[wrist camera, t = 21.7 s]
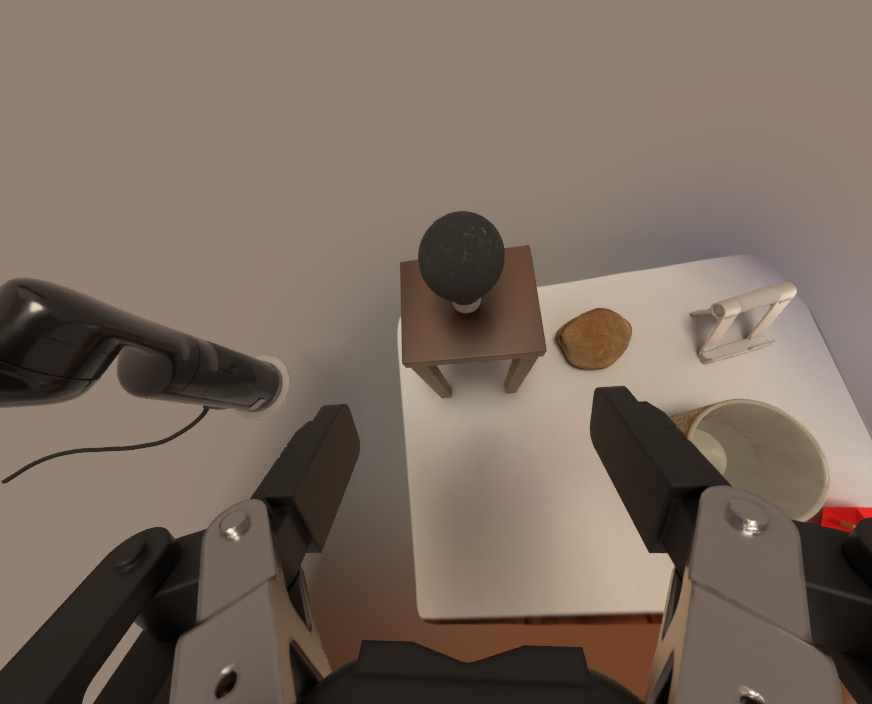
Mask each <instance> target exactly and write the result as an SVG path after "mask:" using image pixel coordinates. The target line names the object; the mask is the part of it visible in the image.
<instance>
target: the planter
mask: <svg viewBox="0 0 872 704" xmlns="http://www.w3.org/2000/svg"><path fill="white" fill-rule="evenodd" d="M670 419H671V420H672V421H673V422H674V423H675V425H676V427H677V428H679V429H680V430H681V431H682V432H683V433H684V434H685V435H686V436H687V440H690V441H691V442H692V443H693V444H694V445H695V446H696V447H697V448H698V450H699V451H700V452H701V453H702V454H703V455H704V456H705V457H706V458H707V459H708V460H709V461H710V463H711V464H712V465H713V466H714V467H715V468H716V469H717V470H718V471H719V472H720V473H721V475H722V476H723V477H724V478H725V479H726V480H727V481H728V482H729V483H730V484H731V485H732V486H733V487H736V488H740V489H743V490H747V491H749V492H752V493H754V494H756V495H758V496H760V497H762V498H764V499H766V500H768V501H769V502H771V503H772V504H774V505H775V506H777V507H778V508H779V509H781V510H782V511H783V512H784V513H785V514H786V515H787V516H788V517H789V518H790V519H793V520H797V521H801V522H805V521H807V520H809V519H810V518H811V517H813V516H814V515H815V514H816V513H817V512H818V511H819V510H820V509H821V507H822V506H823V504H824V503H825V501H826V498H827V496H828V492H829V487H830V472H829V467H828V463H827V460H826V457H825V455H824V452H823V450H822V449H821V447H820V445H819V443H818V442H817V440H816V439H815V438H814V436H813V435H812V434H811V433H810V432H809V431H808V429H807V428H806V427H805V426H803V425H802V424H801V423H800V422H799V421H798V420H796V419H795V418H794V417H792V416H791V415H789V414H788V413H786V412H784V411H783V410H781V409H779V408H777V407H774V406H772V405H769V404H766V403H763V402H759V401H755V400H748V399H733V400H726V401H722V402H719V403H715V404H712V405H708V406H705V407H702V408H698V409H695V410H691V411H688V412H685V413H681V414H678V415H675V416H672V417H670Z"/></svg>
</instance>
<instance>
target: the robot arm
mask: <svg viewBox="0 0 872 704" xmlns="http://www.w3.org/2000/svg"><path fill="white" fill-rule="evenodd" d="M118 354H119V356H118V361H117V377H118V380H119V383H120V385H121V386H122V388H123V389H124V390H125V391H126V392H127V393H129V394H131V395H133V396H136V397H139V398H145V399H154V400H162V401H170V402H179V403H187V404H196V405H203V408H204V410H203V412H202V413H201V414H200V415H199V417H198V418H197V419H195V420H194V421H193V422H192V423H191V424H189V425H188V426H186V427H185V428H183V429H182V430H180V431H179V432H177V433H175V434H174V435H172V436H170V437H168V438H166V439H163V440H160V441H156V442H152V443H146V444H140V445H134V446H125V447H104V448H83V449H74V450H69V451H64V452H60V453H56V454H53V455H49V456H46V457H44V458H41V459H39V460H37V461H34V462H32V463H30V464H28V465H27V466H25V467H23V468H22V469H20V470H18V471H17V472H15V473H14V474H12V475H11V476H9V477H8V478H6V479H4V480H3V481H2V483H7V482H9V481H10V480H12V479H14V478H15V477H16V476H18V475H20V474H21V473H23V472H24V471H26V470H27V469H29V468H31V467H33V466H35V465H37V464H39V463H41V462H44V461H46V460H49V459H52V458H55V457H59V456H63V455H68V454H73V453H82V452H102V451H122V450H123V451H124V450H134V449H140V448H146V447H151V446H157V445H160V444H163V443H166V442H168V441H171V440H172V439H174V438H176V437H178V436H179V435H181V434H183V433H184V432H186V431H187V430H189V429H190V428H192V427H193V426H194V425H196V424H197V423H198V422H199V421H200V420H201V419H202V418H203V417H204V416H205V415H206V414H207V412H208V410H209V409H217V410H219V409H236V410H244V411H248V412H260V411H263V410H265V409H267V408H269V407H270V406H271V405H272V404H273V403H274V402H275V401H276V400H277V398H278V397H279V395H280V392H281V389H282V375H281V373H280V371H279V369H278V368H277V367H276V366H275V365H273V364H272V363H269V362H266V361H262V360H259V359H256V358H254V357H251V356H248V355H245V354H242V353H239V352H237V351H234V350H231V349H228V348H225V347H223V346H220V345H217V344H214V343H211V342H209V341H206V340H203V339H200V338H197V337H194V336H191V335H189V334H186V333H183V332H180V331H177V330H174V329H171V328H168V327H166V326H163V325H161V324H158V323H155V322H153V321H149V320H147V319H144V318H142V317H139V316H136V315H134V314H131V313H129V312H126V311H123V310H121V309H118V308H116V307H114V306H111V305H109V304H107V303H104V302H102V301H100V300H97V299H95V298H92V297H90V296H87V295H85V294H83V293H80V292H77V291H75V290H72V289H70V288H67V287H64V286H61V285H58V284H54V283H51V282H48V281H43V280H38V279H32V278H15V279H11V280H8V281H7V282H5V283H4V284H3V285H2V286H1V287H0V408H9V407H26V406H40V405H49V404H57V403H62V402H66V401H70V400H73V399H76V398H78V397H80V396H82V395H83V394H85V393H86V392H87V391H89V390H90V389H91V388H92V387H93V386H94V385H95V384H96V383H97V381H98V380H99V379H100V378H101V376H102V375H103V373H104V372H105V371H106V370H107V368H108V367H109V366H110V364H111V363H112V362H113V360H114V359H115V358H116V357H117V355H118ZM590 435H591V440H592V443H593V446H594V448H595V450H596V452H597V454H598V455H599V457H600V459H601V461H602V463H603V465H604V467H605V469H606V471H607V473H608V475H609V477H610V479H611V480H612V482H613V484H614V486H615V488H616V490H617V492H618V494H619V496H620V498H621V500H622V502H623V504H624V505H625V507H626V509H627V511H628V513H629V515H630V517H631V519H632V521H633V523H634V525H635V527H636V528H637V530H638V532H639V534H640V536H641V538H642V540H643V542H644V544H645V546H646V548H647V550H648V552H649V553H668V555H669V556H670V558H671V560H672V562H673V563H674V568H673V570H672V574H671V579H670V585H669V590H668V595H667V600H666V605H665V610H664V615H663V620H662V625H661V630H660V635H659V641H658V645H657V649H656V654H655V658H654V661H653V664H652V668H651V671H650V675H649V679H648V683H647V687H646V692H645V697H644V701H643V700H641V699H640V698H639V697H638V696H637V695H635V694H634V693H633V692H632V691H631V690H629V689H628V688H626V687H625V686H623V685H622V684H620V683H619V682H617V681H616V680H614V679H613V678H611V677H609V676H607V675H605V674H603V673H601V672H599V671H597V670H595V669H592V668H590V667H587V663H586V660H585V656H584V652H583V648H582V647H557V646H556V647H555V646H521V647H519V648H515V649H512V650H509V651H506V652H503V653H500V654H497V655H494V656H490V657H488V658H485V659H481V660H478V661H475V662H471V663H465V662H461V661H459V660H456V659H454V658H451V657H449V656H447V655H444V654H442V653H439V652H437V651H434V650H432V649H429V648H427V647H424V646H422V645H419V644H417V643H414V642H404V641H372V640H362V643H361V648H360V652H359V657H358V659H356V660H353V661H351V662H349V663H347V664H345V665H343V666H341V667H339V668H338V669H336V670H335V671H333V672H332V671H331V668H330V665H329V662H328V659H327V657H326V654H325V652H324V649H323V647H322V644H321V642H320V638H319V635H318V631H317V627H316V623H315V618H314V614H313V610H312V605H311V601H310V597H309V593H308V588H307V584H306V580H305V576H304V571H303V568H302V566H301V563H302V561H303V558H304V556H305V554H306V553H321V552H322V550H323V547H324V545H325V542H326V539H327V537H328V534H329V532H330V529H331V526H332V523H333V521H334V518H335V516H336V513H337V511H338V508H339V505H340V503H341V500H342V497H343V495H344V493H345V490H346V487H347V485H348V482H349V480H350V477H351V474H352V472H353V469H354V467H355V464H356V461H357V459H358V456H359V452H360V440H359V436H358V433H357V430H356V427H355V424H354V421H353V418H352V415H351V412H350V409H349V407H348V405H346V404H341V405H340V404H339V405H325V406H323V407H322V408H321V409H320V410H319V412H318V414H317V415H316V417H315V418H314V420H313V421H309V422H307V423H306V424H305V425H304V426H303V427H302V428H300V429H299V430H298V431H297V432H296V433H295V434H294V436H293V437H292V438H291V440H290V441H289V443H288V444H287V447H285V449H284V450H283V452H282V453H281V455H280V458H278V459H277V461H276V462H275V463H274V465H273V466H272V468H271V469H270V471H269V472H268V474H267V475H266V476H265V478H264V479H263V481H262V482H261V484H260V485H259V487H258V488H257V490H256V491H255V493H254V494H253V495H252V497H251V498H250V499H249V500H244V501H242V502H239V503H237V504H234V505H233V506H231V507H229V508H228V509H226V510H225V511H223V512H222V513H221V514H220V515H219V516H218V517H216V518H215V520H213V522H212V523H211V524H210V525H209V527H208V528H207V529H205V530H202V531H199V532H196V533H193V534H189V535H186V536H183V537H180V538H177V539H175V538H174V537H173V536H172V535H171V534H170V532H169V531H168V530H167V529H165V528H162V527H154V528H150V529H147V530H144V531H142V532H139V533H137V534H135V535H134V536H132V537H130V538H129V539H127V540H125V541H124V542H123V543H121V544H120V545H118V546H117V547H116V548H115V549H114V550H112V552H110V553H109V554H108V555H107V556H106V557H105V558H104V559H103V560H102V561H101V562H100V564H99V565H98V566H97V567H96V568H95V569H94V570H93V571H92V572H91V573H90V574H89V575H88V577H87V578H86V579H85V580H84V581H83V582H82V583H81V584H80V585H79V586H78V588H76V590H75V591H74V592H73V593H72V594H71V595H70V596H69V597H68V598H67V599H66V600H65V602H64V603H63V604H62V605H61V606H60V607H59V608H58V609H57V610H56V611H55V612H54V613H53V615H52V616H51V617H50V618H49V619H48V620H47V621H46V622H45V623H44V624H43V625H42V627H41V628H40V629H39V630H38V631H37V632H36V633H35V634H34V635H33V636H32V637H31V639H30V640H29V641H28V642H27V643H26V644H25V645H24V646H23V647H22V648H21V649H20V650H19V652H18V653H17V654H16V655H15V656H14V657H13V658H12V659H11V660H10V661H9V662H8V663H7V664H6V666H5V667H4V668H3V669H2V670H1V671H0V704H82V701H83V697H84V695H85V692H86V690H87V688H88V686H89V684H90V682H91V681H92V679H93V678H94V677H95V675H96V673H97V672H98V671H99V670H100V668H101V667H102V665H103V664H104V662H105V661H106V660H107V658H108V657H109V656H110V654H111V653H112V651H113V650H114V649H115V647H116V646H117V644H118V643H119V642H120V640H121V639H122V637H123V636H124V635H125V633H126V632H127V630H128V629H129V628H130V626H131V625H132V623H133V622H135V623H136V624H137V625H138V626H140V627H141V628H142V629H143V631H142V633H141V634H140V635H139V637H138V638H137V640H136V641H135V643H134V644H133V646H132V647H131V649H130V650H129V652H128V653H127V654H126V656H125V657H124V659H123V661H122V662H121V663H120V665H119V666H118V668H117V669H116V671H115V672H114V674H113V675H112V676H111V678H110V680H109V681H108V682H107V684H106V685H105V687H104V688H103V690H102V691H101V693H100V694H99V696H98V697H97V699H96V700H95V702H94V703H93V704H843V702H842V695H841V690H840V683H839V679H840V680H841V681H842V683H843V684H844V686H845V687H846V688H847V690H848V691H849V693H850V694H851V695H852V697H853V698H854V699H855V701H856V702H857V704H872V517H869V518H864V519H862V520H861V521H859V523H858V524H857V525H856V527H855V528H854V529H853V530H852V532H847V531H842V530H838V529H833V528H829V527H824V526H819V525H815V524H810V523H806V522H801V521H797V520H793V519H790V518H789V517H788V516H787V515H786V514H785V513H784V512H783V511H782V510H781V509H779V508H778V507H777V506H775V505H774V504H772V503H771V502H769V501H768V500H766V499H764V498H762V497H760V496H758V495H756V494H754V493H752V492H749V491H747V490H743V489H740V488H736V487H733V486H732V485H731V484H730V483H729V482H728V481H727V480H726V479H725V478H724V477H723V476H722V475H721V473H720V472H719V471H718V470H717V469H716V468H715V467H714V466H713V465H712V464H711V463H710V461H709V460H708V459H707V458H706V457H705V456H704V455H703V454H702V453H701V452H700V451H699V450H698V448H697V447H696V446H695V445H694V444H693V443H692V442H691V441H690V440H687V436H686V435H685V434H684V433H683V432H682V431H681V430H680V429H679V428H677V427H676V425H675V423H674V422H673V421H672V420H671V419H670V418H669V417H668V416H667V415H666V414H665V413H664V412H663V411H661V410H660V409H658V408H656V407H655V406H653V405H651V404H650V403H648V402H646V401H643V402H638V401H637V399H636V398H635V397H634V396H633V395H632V393H631V392H630V391H629V390H628V389H627V388H626V387H625V386H613V387H598V388H596V389H595V391H594V397H593V405H592V413H591V422H590ZM814 644H815V645H814Z"/></svg>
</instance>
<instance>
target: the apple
mask: <svg viewBox="0 0 872 704" xmlns="http://www.w3.org/2000/svg"><path fill="white" fill-rule="evenodd" d="M869 517H872V508H864V507H824V508H823V516H822V523H821V526H824V527H829V528H833V529H838V530H842V531H847V532H852V530H853V529H854V528H855V527H856V525H857V524H858V523H859V521H861V520H862V519H864V518H869Z"/></svg>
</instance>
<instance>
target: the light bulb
mask: <svg viewBox="0 0 872 704" xmlns="http://www.w3.org/2000/svg"><path fill="white" fill-rule="evenodd" d="M504 261H505V249H504V245H503V241H502V238H501V236H500V235H499V232H498V231H497V229H496V228H495V227H494V225H493V224H492V223H490V222H489V221H488V220H487V219H485V218H484V217H483V216H480V215H478V214H476V213H472V212H467V211H459V212H453V213H449V214H447V215H445V216H443V217H441V218H439V219H438V220H436V221H435V222H434V223H433V224H432V225H431V226H430V227H429V229H428V230H427V231H426V233H425V235H424V236H423V238H422V240H421V244H420V247H419V253H418V263H419V267H420V272H421V276H422V277H423V279H424V281H425V283H426V284H427V285H428V287H429V288H430V289H431V290H432V291H433V292H434V293H435V294H436V295H438V296H439V297H441V298H443V299H445V300H448V301H451V302H452V304H453V306H454V307H455V309H456V310H457V311H459V312H461V313H471V312H473V311H475V310H476V309H477V308H478V307H479V305H480V302H481V297H483V296H484V295H486V294H487V293H488V292H489V291H490V290H491V289H492V288H493V287H494V286H495V285H496V283H497V282H498V280H499V278H500V276H501V273H502V271H503V267H504Z"/></svg>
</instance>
